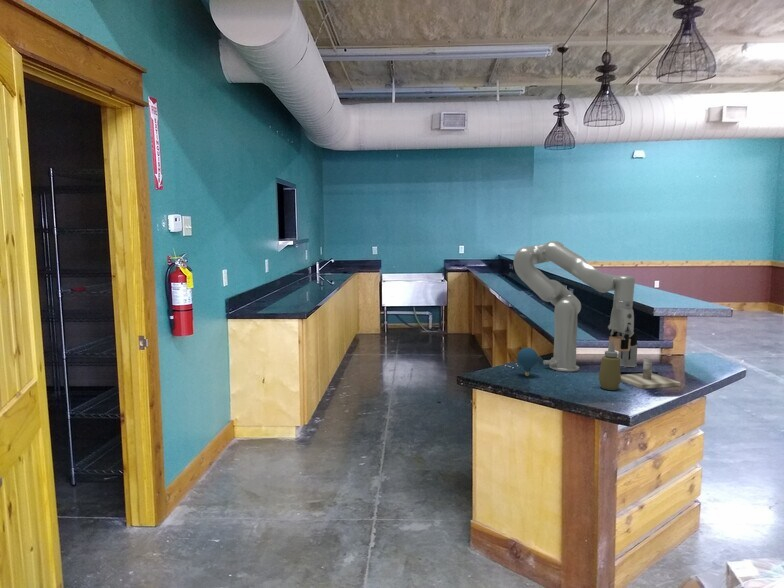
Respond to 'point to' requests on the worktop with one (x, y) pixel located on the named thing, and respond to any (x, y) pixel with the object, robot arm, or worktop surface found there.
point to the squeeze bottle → (610, 369)
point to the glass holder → (629, 353)
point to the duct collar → (618, 343)
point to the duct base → (648, 383)
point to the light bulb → (527, 359)
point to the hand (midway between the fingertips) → (619, 346)
